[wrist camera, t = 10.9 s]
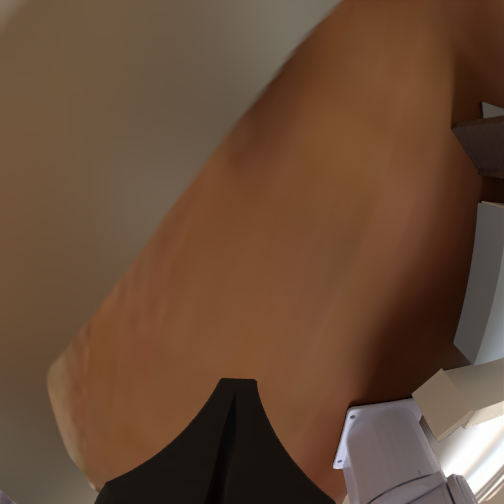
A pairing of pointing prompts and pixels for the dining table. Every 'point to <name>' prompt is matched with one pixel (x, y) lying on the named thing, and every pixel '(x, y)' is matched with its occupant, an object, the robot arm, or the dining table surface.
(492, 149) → the grey long angular piece
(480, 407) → the shallow white tray
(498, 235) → the white block
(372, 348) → the dining table surface
